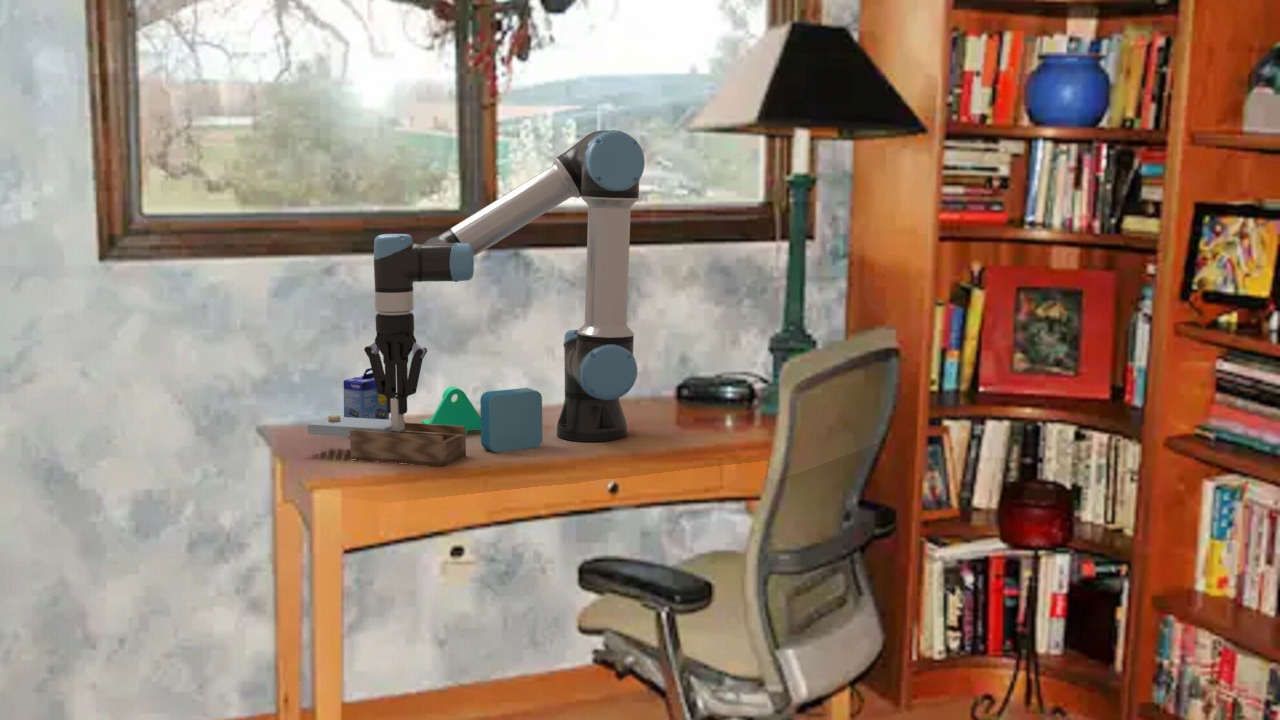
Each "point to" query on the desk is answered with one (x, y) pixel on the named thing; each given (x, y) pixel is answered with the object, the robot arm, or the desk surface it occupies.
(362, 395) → the ink cartridge box
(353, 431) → the pencil box
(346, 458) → the desk surface
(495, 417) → the data package
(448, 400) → the camera mount
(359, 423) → the cover plate
